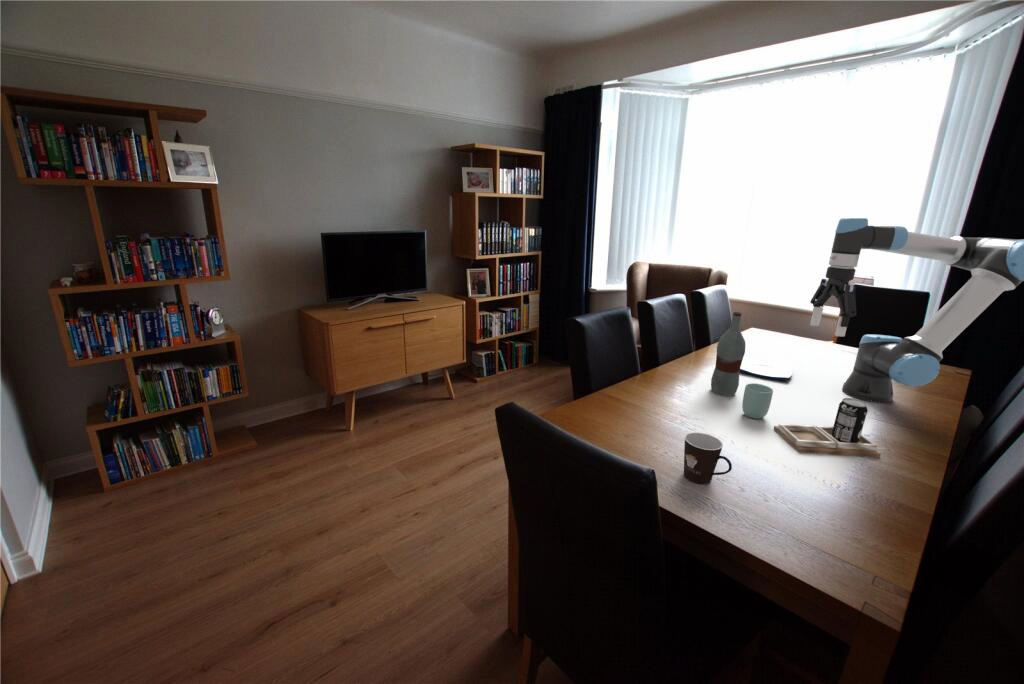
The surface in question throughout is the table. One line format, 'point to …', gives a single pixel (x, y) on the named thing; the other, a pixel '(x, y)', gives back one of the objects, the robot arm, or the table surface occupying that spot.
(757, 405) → the cup
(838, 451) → the divided tray
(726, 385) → the bottle
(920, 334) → the robot arm
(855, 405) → the beverage can
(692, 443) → the coffee mug
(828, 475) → the table surface
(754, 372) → the plate
